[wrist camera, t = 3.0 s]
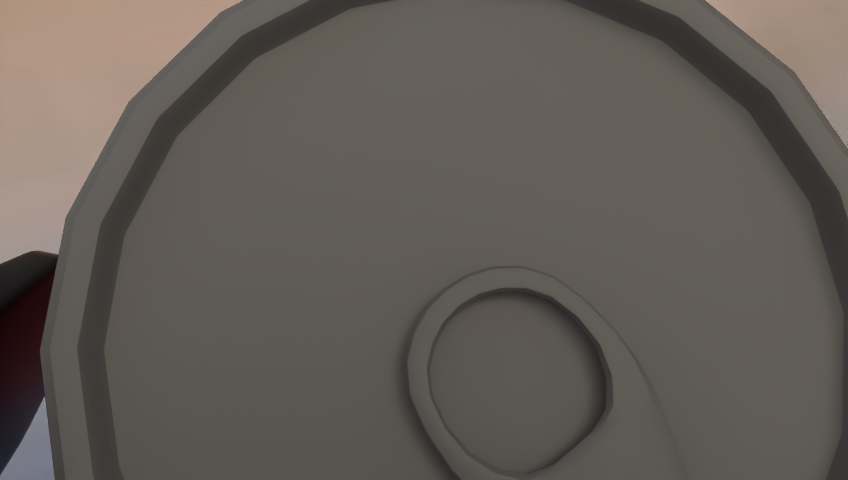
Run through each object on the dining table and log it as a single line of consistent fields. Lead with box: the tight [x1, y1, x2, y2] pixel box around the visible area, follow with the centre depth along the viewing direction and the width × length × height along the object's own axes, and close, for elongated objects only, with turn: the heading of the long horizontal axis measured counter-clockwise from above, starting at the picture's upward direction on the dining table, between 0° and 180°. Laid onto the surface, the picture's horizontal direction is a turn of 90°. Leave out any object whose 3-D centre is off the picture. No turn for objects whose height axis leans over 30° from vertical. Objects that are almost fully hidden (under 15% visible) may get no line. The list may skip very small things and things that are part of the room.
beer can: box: [40, 0, 848, 480], centre depth 11 cm, size 7×7×12 cm
